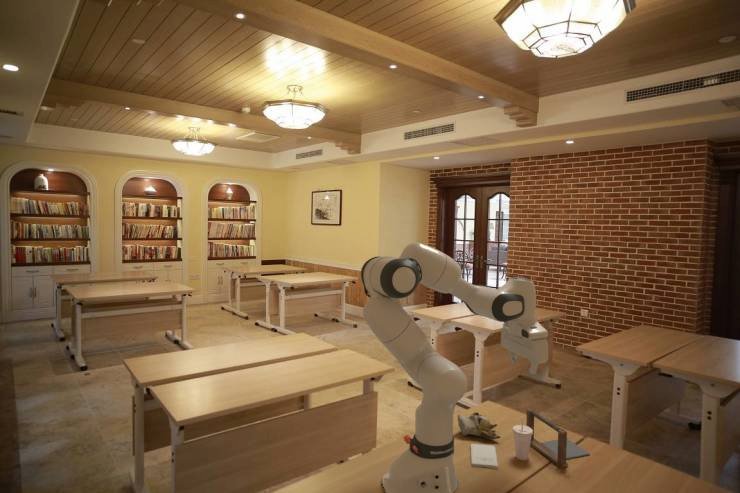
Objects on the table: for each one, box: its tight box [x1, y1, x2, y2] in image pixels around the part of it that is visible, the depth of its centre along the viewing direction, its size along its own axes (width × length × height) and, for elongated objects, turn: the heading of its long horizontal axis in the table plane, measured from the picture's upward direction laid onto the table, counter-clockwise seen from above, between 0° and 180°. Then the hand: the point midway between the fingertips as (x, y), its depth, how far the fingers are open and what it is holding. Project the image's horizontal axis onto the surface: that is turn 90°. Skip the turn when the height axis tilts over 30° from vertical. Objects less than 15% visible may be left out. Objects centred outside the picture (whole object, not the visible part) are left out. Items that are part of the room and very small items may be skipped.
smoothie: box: [512, 416, 533, 461], centre depth 148 cm, size 6×6×14 cm
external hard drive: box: [470, 443, 499, 470], centre depth 149 cm, size 2×8×12 cm
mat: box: [540, 438, 591, 461], centre depth 153 cm, size 11×11×1 cm
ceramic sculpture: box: [457, 412, 501, 440], centre depth 163 cm, size 11×9×15 cm
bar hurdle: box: [525, 408, 569, 469], centre depth 151 cm, size 3×18×12 cm, turn 17°
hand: (523, 368), depth 145 cm, fingers open, 8 cm apart
